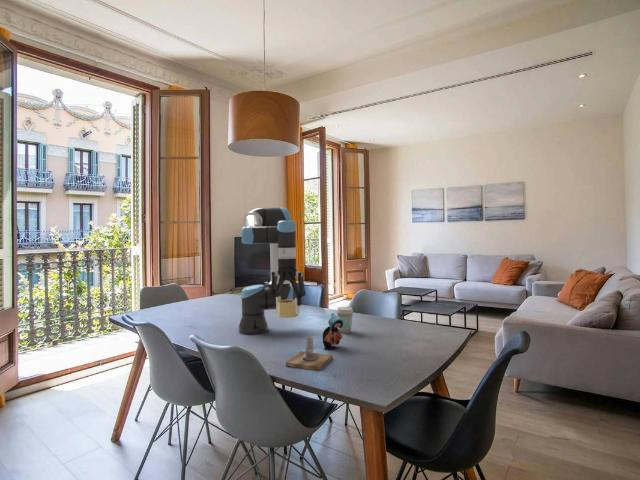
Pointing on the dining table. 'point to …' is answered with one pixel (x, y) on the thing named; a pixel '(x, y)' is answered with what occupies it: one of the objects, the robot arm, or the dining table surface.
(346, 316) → the coffee cup
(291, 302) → the hub
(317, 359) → the shaft block
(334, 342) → the figurine
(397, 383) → the dining table surface
